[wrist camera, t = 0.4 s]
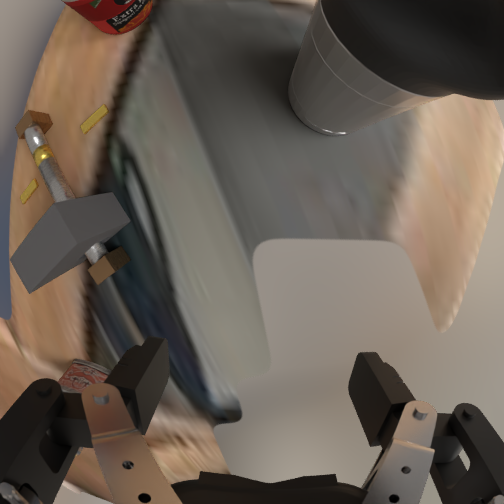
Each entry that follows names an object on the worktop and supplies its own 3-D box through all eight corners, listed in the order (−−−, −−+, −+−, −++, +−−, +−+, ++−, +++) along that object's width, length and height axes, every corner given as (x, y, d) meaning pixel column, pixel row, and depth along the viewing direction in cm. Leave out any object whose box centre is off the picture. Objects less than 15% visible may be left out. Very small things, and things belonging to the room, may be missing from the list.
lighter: (75, 370, 36) (45, 408, 27) (72, 354, 35) (39, 392, 26) (118, 386, 37) (92, 431, 27) (116, 371, 36) (88, 415, 26)
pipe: (180, 224, 30) (168, 231, 26) (80, 299, 33) (64, 312, 29) (87, 73, 25) (69, 64, 21) (8, 165, 28) (-11, 167, 24)
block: (130, 221, 29) (77, 243, 19) (82, 262, 31) (29, 294, 21) (112, 192, 29) (54, 202, 18) (66, 235, 30) (9, 259, 20)
